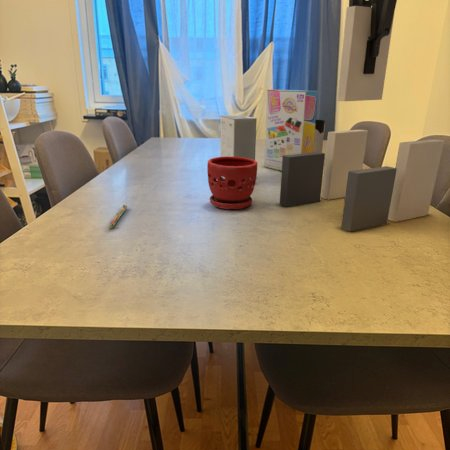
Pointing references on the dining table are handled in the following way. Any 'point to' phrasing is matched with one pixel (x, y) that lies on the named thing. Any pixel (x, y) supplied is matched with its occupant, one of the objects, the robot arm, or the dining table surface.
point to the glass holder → (319, 135)
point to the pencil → (117, 216)
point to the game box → (289, 124)
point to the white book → (361, 58)
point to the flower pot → (231, 181)
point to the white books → (406, 167)
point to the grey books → (355, 191)
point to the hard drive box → (238, 136)
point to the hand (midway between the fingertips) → (363, 73)
